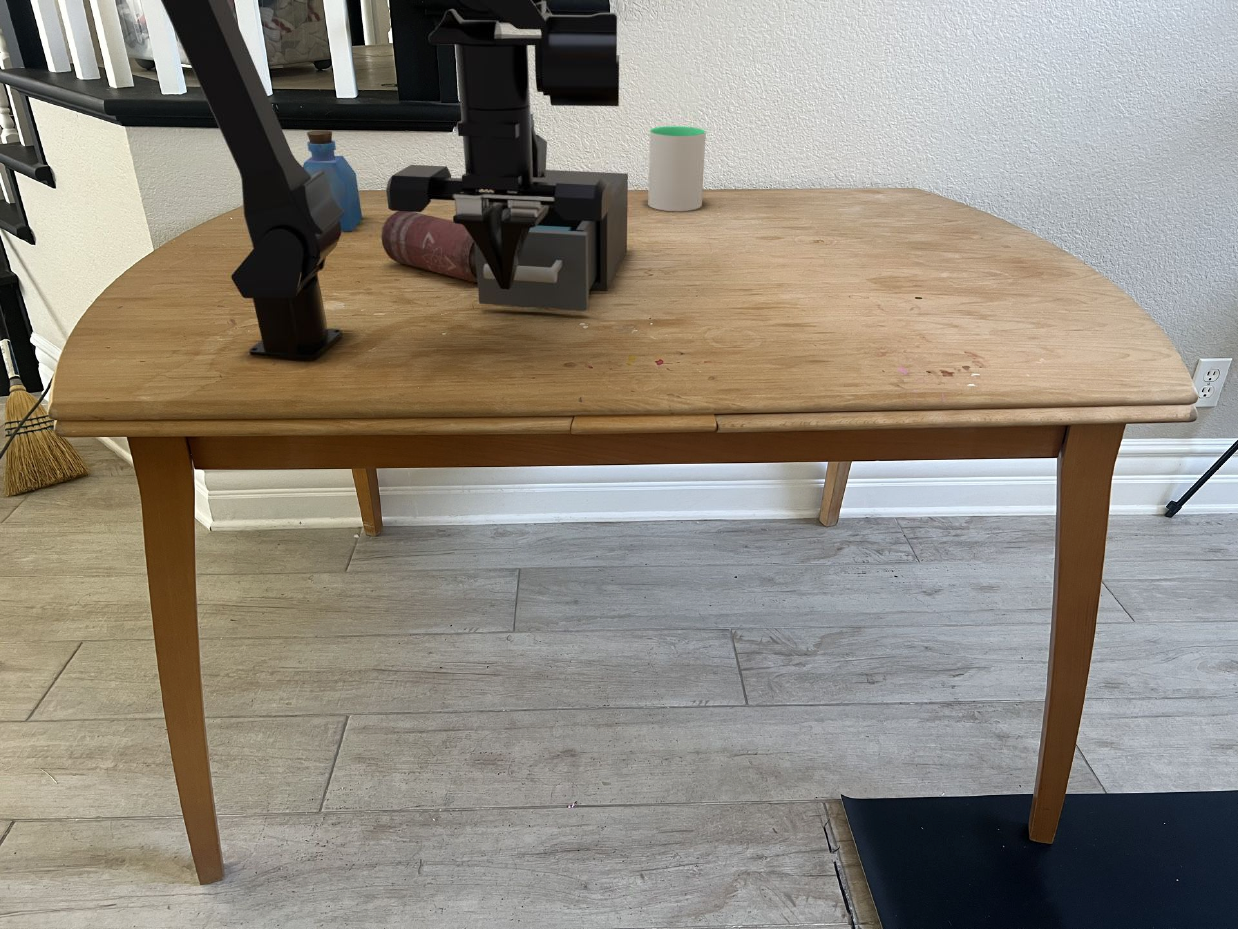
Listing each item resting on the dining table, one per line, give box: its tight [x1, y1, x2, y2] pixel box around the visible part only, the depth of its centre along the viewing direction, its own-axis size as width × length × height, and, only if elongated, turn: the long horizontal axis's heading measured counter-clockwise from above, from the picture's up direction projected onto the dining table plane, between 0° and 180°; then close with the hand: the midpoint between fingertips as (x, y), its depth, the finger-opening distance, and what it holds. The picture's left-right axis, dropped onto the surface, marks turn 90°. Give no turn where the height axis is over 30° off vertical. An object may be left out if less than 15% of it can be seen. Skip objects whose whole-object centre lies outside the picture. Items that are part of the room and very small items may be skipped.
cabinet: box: [503, 169, 629, 291], centre depth 100 cm, size 15×13×10 cm
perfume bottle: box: [302, 129, 363, 232], centre depth 114 cm, size 6×6×12 cm
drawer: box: [474, 206, 600, 312], centre depth 90 cm, size 18×11×8 cm, turn 171°
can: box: [380, 211, 478, 283], centre depth 99 cm, size 6×6×14 cm
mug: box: [647, 125, 707, 212], centre depth 127 cm, size 12×8×10 cm, turn 14°
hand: (506, 288), depth 78 cm, fingers closed
